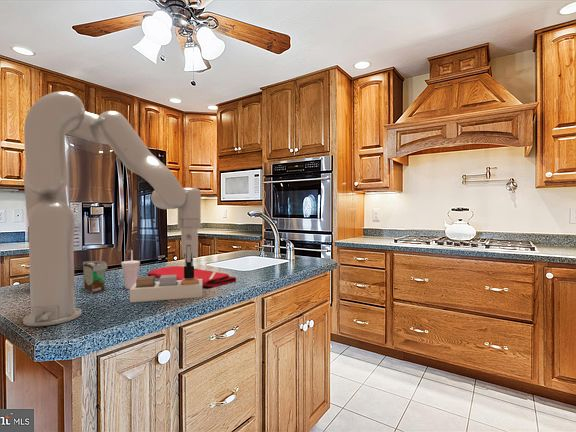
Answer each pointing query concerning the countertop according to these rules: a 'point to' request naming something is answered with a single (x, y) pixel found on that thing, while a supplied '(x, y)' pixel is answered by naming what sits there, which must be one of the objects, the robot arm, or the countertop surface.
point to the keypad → (166, 292)
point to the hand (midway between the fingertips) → (189, 277)
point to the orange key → (190, 281)
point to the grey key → (168, 280)
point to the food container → (94, 276)
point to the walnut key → (145, 281)
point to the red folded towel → (196, 275)
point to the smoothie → (130, 271)
